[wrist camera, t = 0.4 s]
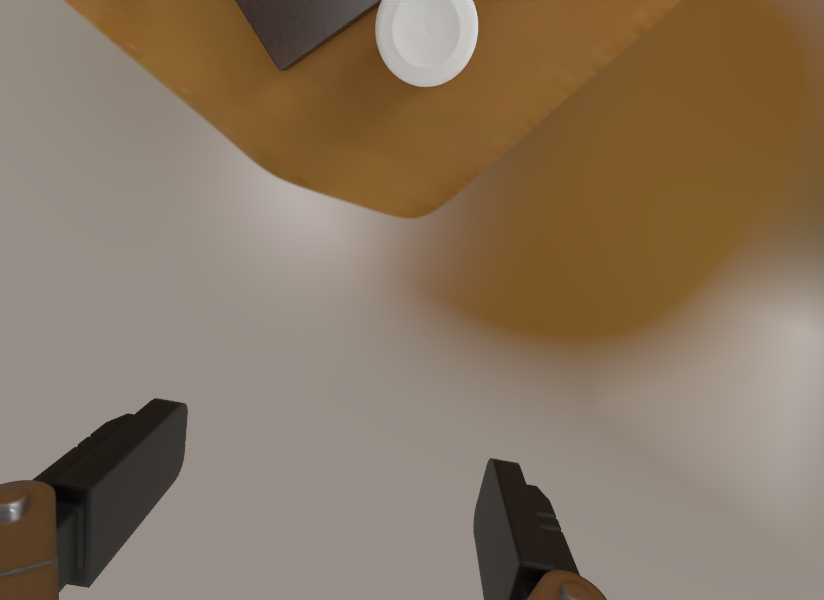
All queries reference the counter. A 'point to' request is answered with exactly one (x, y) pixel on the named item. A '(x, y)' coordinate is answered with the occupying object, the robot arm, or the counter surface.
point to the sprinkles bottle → (426, 38)
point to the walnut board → (301, 24)
